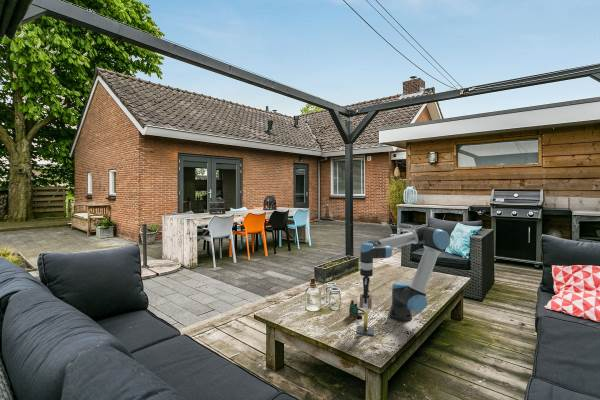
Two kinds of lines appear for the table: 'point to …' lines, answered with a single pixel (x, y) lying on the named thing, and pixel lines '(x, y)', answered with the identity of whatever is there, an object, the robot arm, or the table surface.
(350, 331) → the table surface
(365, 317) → the keeper
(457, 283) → the table surface
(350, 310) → the binoculars
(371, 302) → the link
